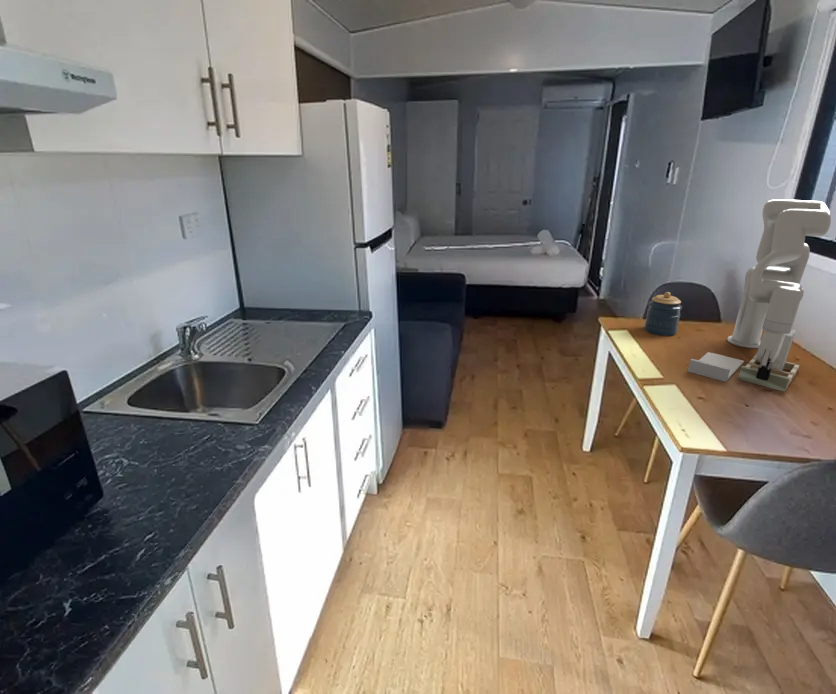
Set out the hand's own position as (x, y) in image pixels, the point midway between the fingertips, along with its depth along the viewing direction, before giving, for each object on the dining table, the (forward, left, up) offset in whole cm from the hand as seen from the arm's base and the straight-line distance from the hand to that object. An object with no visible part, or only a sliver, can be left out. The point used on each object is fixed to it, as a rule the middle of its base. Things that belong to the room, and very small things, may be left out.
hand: (761, 378), depth 161 cm
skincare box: (-18, 0, -3) cm, 18 cm away
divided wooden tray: (-14, 0, -3) cm, 14 cm away
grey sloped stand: (-8, -15, -3) cm, 17 cm away
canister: (-35, -44, -3) cm, 56 cm away
